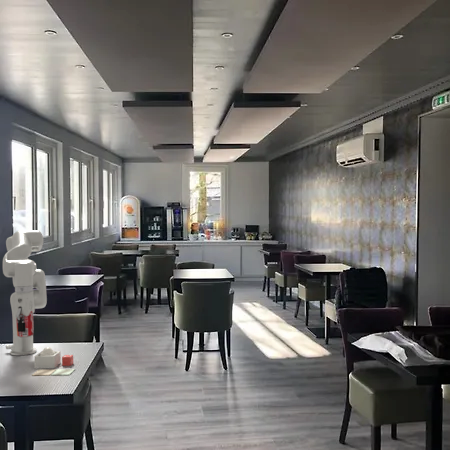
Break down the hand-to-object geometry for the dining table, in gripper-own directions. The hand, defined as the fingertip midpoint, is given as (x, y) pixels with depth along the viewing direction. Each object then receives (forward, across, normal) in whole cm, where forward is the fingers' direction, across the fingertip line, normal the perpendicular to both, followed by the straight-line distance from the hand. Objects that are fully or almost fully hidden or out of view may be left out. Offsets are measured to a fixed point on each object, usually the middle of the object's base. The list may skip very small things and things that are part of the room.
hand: (25, 329), depth 238 cm
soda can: (+3, 0, 0) cm, 3 cm away
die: (+20, +13, -14) cm, 28 cm away
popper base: (+20, +12, -6) cm, 24 cm away
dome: (+16, +12, -5) cm, 21 cm away
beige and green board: (+20, 0, -12) cm, 23 cm away
